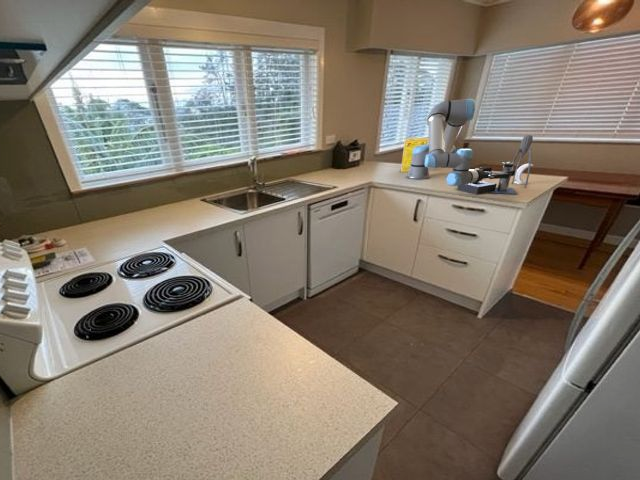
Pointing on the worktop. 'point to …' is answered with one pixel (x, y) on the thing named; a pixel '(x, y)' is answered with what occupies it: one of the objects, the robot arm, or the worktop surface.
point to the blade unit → (505, 182)
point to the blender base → (477, 187)
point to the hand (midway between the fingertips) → (502, 171)
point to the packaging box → (411, 151)
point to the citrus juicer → (524, 149)
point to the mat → (509, 191)
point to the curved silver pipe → (519, 172)
